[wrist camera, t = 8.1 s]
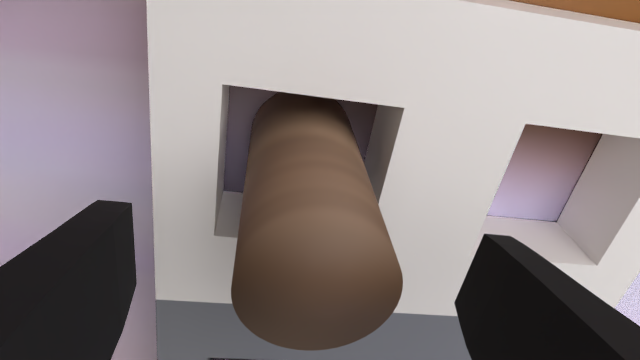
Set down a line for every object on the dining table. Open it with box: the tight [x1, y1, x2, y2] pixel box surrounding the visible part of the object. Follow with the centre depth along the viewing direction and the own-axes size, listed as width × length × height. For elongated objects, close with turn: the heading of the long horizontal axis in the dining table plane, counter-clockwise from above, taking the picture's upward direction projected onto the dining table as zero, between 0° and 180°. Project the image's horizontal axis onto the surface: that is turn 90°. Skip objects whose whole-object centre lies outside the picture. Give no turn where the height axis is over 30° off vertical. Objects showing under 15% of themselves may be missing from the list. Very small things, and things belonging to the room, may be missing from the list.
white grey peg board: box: [146, 0, 640, 360], centre depth 16 cm, size 20×16×2 cm
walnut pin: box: [231, 92, 403, 351], centre depth 11 cm, size 3×3×7 cm
